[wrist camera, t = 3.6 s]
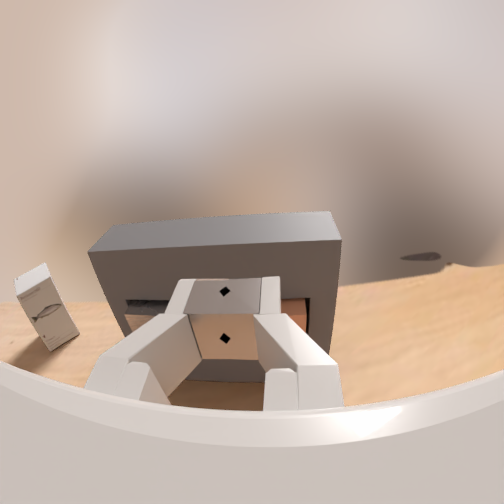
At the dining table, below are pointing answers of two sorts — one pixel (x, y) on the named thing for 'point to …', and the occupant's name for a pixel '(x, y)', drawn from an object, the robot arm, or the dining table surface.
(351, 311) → the dining table surface
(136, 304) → the grey button
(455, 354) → the dining table surface
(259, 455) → the robot arm
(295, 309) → the button terracotta
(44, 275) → the supplement box
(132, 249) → the panel
